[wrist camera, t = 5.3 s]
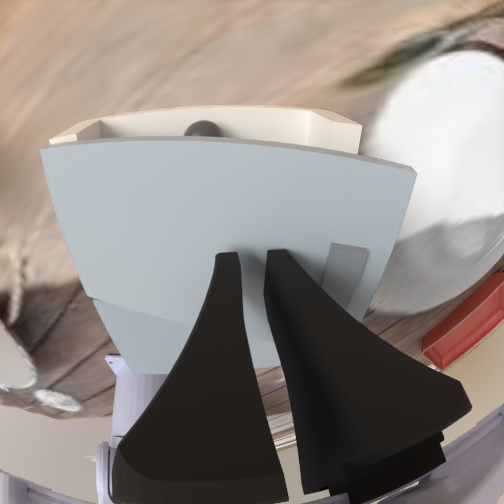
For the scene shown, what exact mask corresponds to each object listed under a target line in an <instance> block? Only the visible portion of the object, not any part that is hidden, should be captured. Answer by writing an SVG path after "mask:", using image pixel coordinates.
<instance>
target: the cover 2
mask: <svg viewBox="0 0 504 504" xmlns="http://www.w3.org/2000/svg"><path fill="white" fill-rule="evenodd" d="M93 302H94V305H95V307H96V309H97V311H98V313H99V315H100V317H101V319H102V321H103V323H104V325H105V327H106V329H107V331H108V332H109V334H110V336H111V338H112V340H113V342H114V344H115V345H116V347H117V349H118V351H119V352H120V354H121V356H122V358H123V359H124V361H125V363H126V364H127V366H128V368H129V369H130V371H131V372H132V374H169V373H170V371H171V369H172V368H173V366H174V364H175V362H176V361H177V359H178V357H179V355H180V353H181V352H182V350H183V348H184V346H185V344H186V342H187V340H188V338H189V336H190V334H191V332H192V329H193V327H194V326H192V325H187V324H183V323H179V322H175V321H171V320H167V319H164V318H160V317H156V316H152V315H149V314H145V313H142V312H138V311H135V310H131V309H128V308H125V307H121V306H118V305H115V304H111V303H108V302H105V301H102V300H99V299H96V298H94V299H93ZM248 343H249V348H250V352H251V357H252V361H253V366H254V369H257V368H265V367H273V366H281V363H280V359H279V356H278V353H277V350H276V346H275V343H274V342H269V341H264V340H258V339H253V338H248Z"/></svg>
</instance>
